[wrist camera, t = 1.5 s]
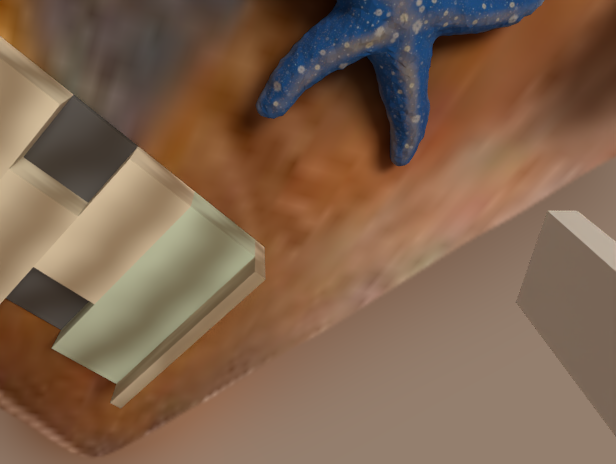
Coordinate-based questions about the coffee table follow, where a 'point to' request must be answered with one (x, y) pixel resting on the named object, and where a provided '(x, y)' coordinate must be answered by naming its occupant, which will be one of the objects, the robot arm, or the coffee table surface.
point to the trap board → (107, 236)
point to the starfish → (385, 54)
